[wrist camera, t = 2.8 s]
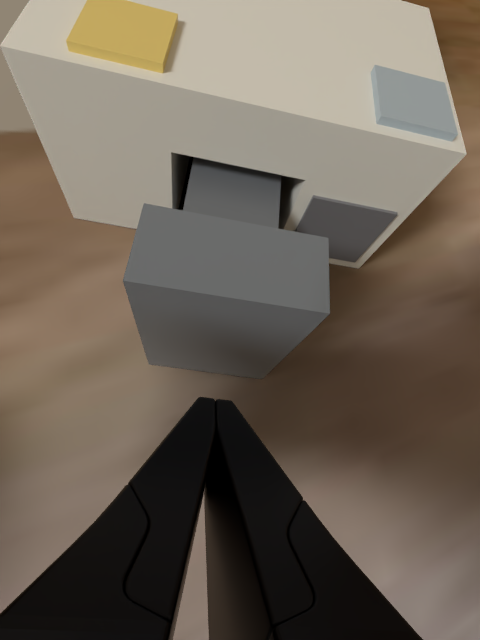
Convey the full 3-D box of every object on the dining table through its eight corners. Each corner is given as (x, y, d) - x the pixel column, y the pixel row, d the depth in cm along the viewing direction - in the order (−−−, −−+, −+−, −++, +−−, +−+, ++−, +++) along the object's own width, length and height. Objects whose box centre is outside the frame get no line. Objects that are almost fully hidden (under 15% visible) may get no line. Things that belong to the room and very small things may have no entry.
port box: (358, 270, 19) (474, 149, 12) (73, 220, 17) (-7, 37, 10) (351, 148, 23) (433, 0, 16) (118, 96, 22) (86, -100, 14)
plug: (262, 379, 15) (330, 313, 9) (148, 364, 15) (122, 280, 8) (272, 219, 19) (324, 84, 12) (182, 202, 19) (184, 50, 12)
